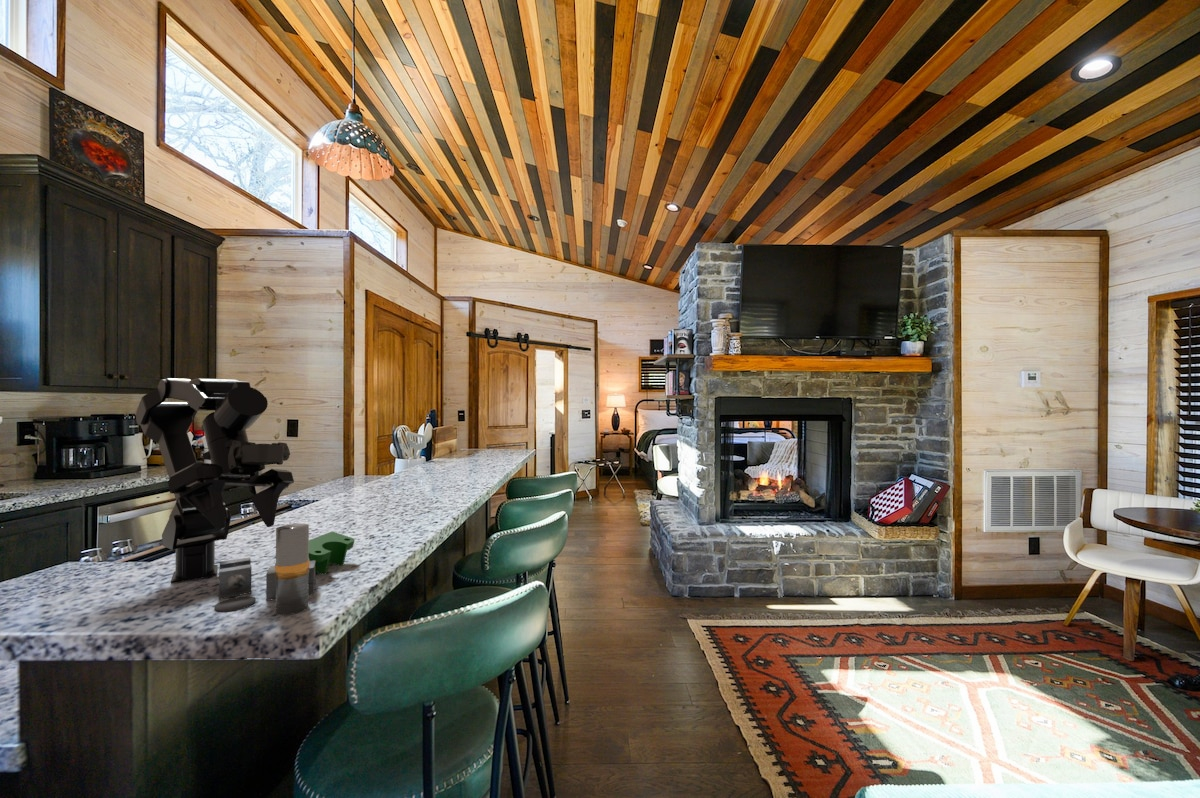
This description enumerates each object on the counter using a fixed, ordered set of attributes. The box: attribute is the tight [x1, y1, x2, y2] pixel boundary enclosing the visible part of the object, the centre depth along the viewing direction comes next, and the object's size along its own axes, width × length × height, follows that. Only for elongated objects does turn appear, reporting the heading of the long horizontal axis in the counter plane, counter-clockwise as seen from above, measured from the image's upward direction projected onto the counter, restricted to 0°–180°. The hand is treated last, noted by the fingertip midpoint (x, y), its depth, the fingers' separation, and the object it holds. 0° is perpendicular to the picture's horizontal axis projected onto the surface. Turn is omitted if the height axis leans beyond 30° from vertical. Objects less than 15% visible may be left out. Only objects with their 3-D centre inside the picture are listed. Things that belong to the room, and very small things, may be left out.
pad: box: [213, 595, 257, 613], centre depth 79 cm, size 5×5×1 cm
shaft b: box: [265, 560, 317, 601], centre depth 84 cm, size 7×4×4 cm, turn 117°
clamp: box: [309, 531, 355, 575], centre depth 97 cm, size 12×6×9 cm, turn 166°
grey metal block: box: [218, 556, 252, 600], centre depth 86 cm, size 7×4×4 cm, turn 37°
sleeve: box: [274, 523, 310, 616], centre depth 78 cm, size 5×5×13 cm
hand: (247, 527), depth 81 cm, fingers open, 9 cm apart
